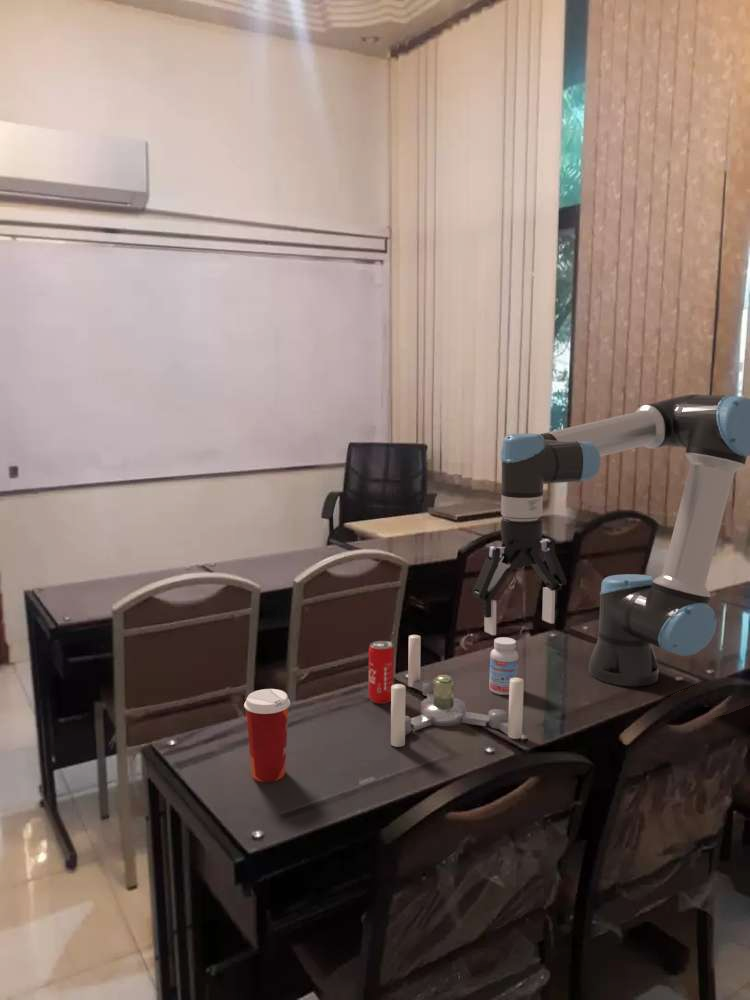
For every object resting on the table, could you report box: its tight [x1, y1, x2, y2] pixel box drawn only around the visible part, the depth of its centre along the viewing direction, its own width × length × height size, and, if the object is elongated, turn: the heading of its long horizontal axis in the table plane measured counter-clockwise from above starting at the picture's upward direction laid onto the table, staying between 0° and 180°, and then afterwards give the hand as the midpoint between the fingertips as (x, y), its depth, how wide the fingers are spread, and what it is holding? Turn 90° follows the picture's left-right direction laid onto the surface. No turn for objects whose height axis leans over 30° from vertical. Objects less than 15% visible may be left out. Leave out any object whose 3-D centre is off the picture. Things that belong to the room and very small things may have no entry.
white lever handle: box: [407, 634, 434, 697], centre depth 168 cm, size 9×4×11 cm, turn 39°
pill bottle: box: [488, 636, 520, 696], centre depth 169 cm, size 6×6×11 cm
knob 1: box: [390, 683, 412, 748], centre depth 147 cm, size 9×4×11 cm, turn 171°
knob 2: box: [487, 677, 525, 740], centre depth 150 cm, size 9×4×11 cm, turn 27°
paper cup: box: [243, 688, 291, 783], centre depth 133 cm, size 8×8×14 cm
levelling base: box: [410, 674, 489, 732], centre depth 158 cm, size 17×14×8 cm
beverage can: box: [368, 640, 395, 704], centre depth 164 cm, size 5×5×12 cm
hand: (519, 627), depth 149 cm, fingers open, 13 cm apart
